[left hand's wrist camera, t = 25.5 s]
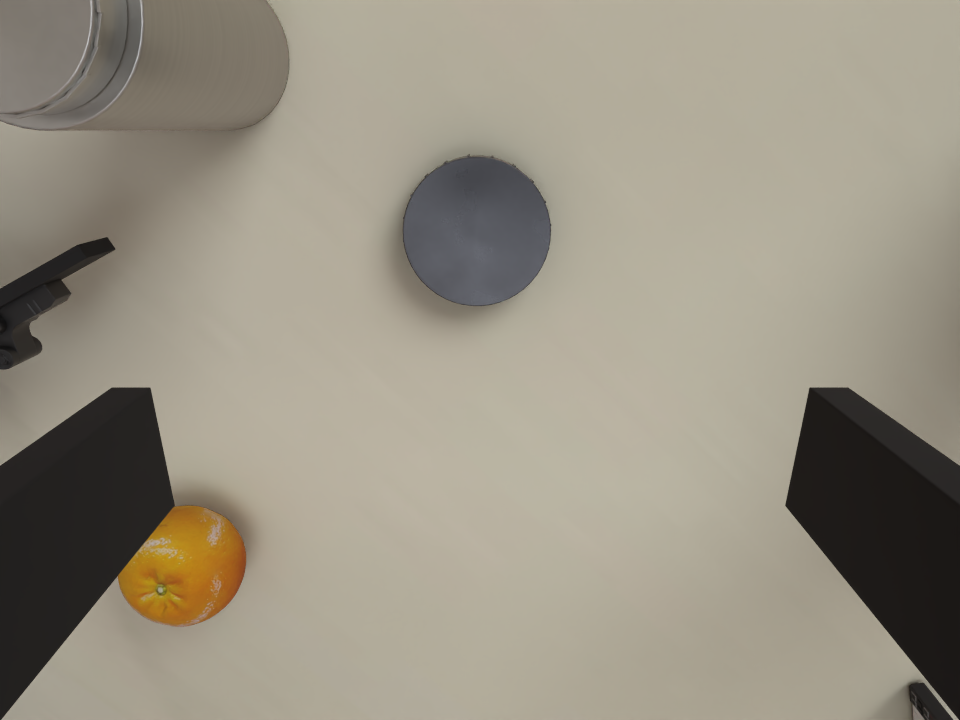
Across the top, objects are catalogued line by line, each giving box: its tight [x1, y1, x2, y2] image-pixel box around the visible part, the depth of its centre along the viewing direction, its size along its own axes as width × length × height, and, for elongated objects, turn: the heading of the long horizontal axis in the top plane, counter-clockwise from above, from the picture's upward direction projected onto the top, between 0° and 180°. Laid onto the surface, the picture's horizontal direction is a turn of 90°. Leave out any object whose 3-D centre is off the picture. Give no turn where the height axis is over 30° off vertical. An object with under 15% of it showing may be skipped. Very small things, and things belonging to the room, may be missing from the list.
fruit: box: [118, 505, 246, 627], centre depth 45 cm, size 8×8×8 cm
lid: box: [403, 154, 551, 306], centre depth 39 cm, size 9×9×2 cm
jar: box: [0, 0, 289, 130], centre depth 27 cm, size 8×8×19 cm
